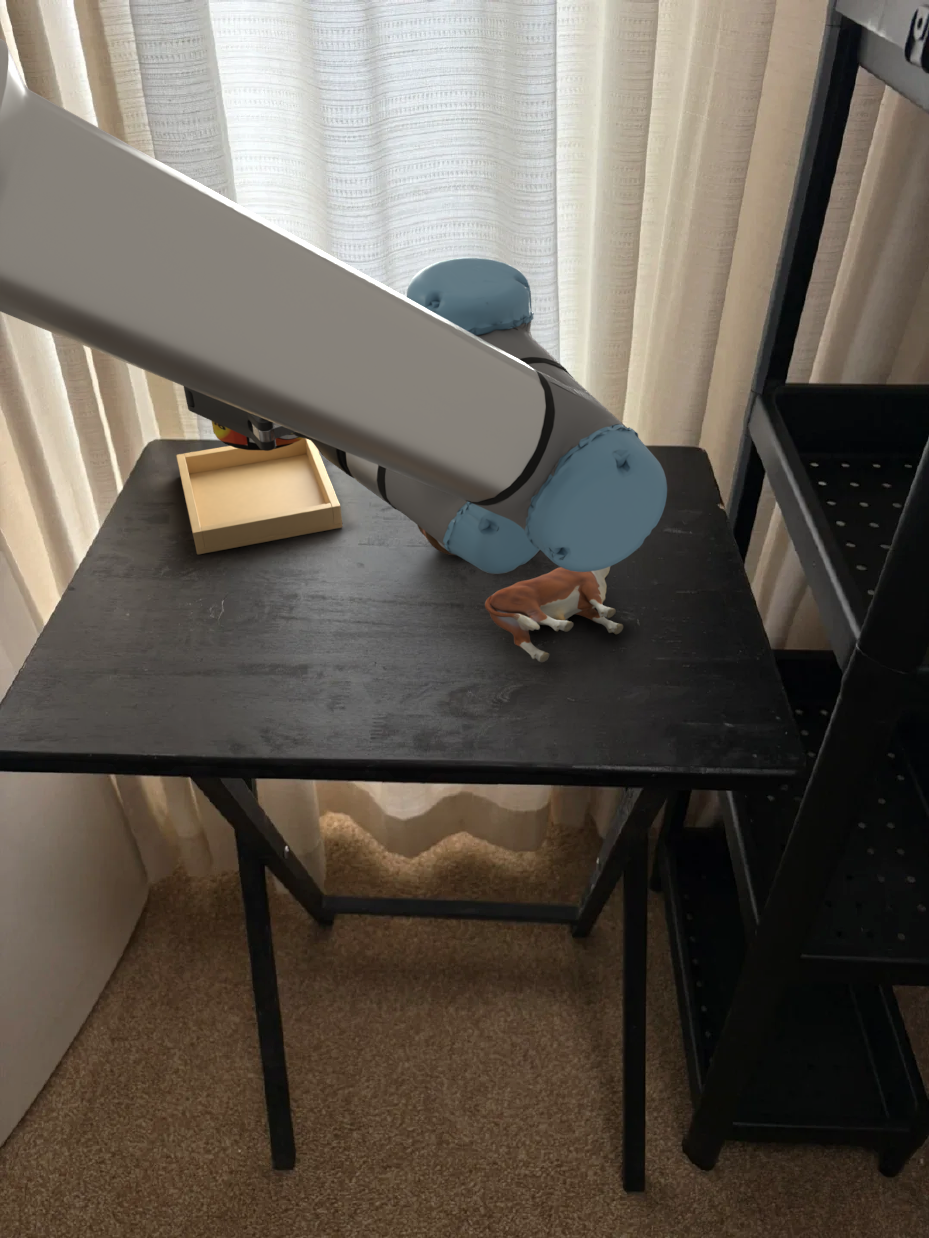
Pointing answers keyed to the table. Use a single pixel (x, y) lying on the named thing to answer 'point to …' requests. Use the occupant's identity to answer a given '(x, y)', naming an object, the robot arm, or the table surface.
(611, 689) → the table surface
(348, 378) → the robot arm
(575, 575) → the bull figurine
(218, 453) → the serving tray
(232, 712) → the table surface
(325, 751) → the table surface
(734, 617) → the table surface
